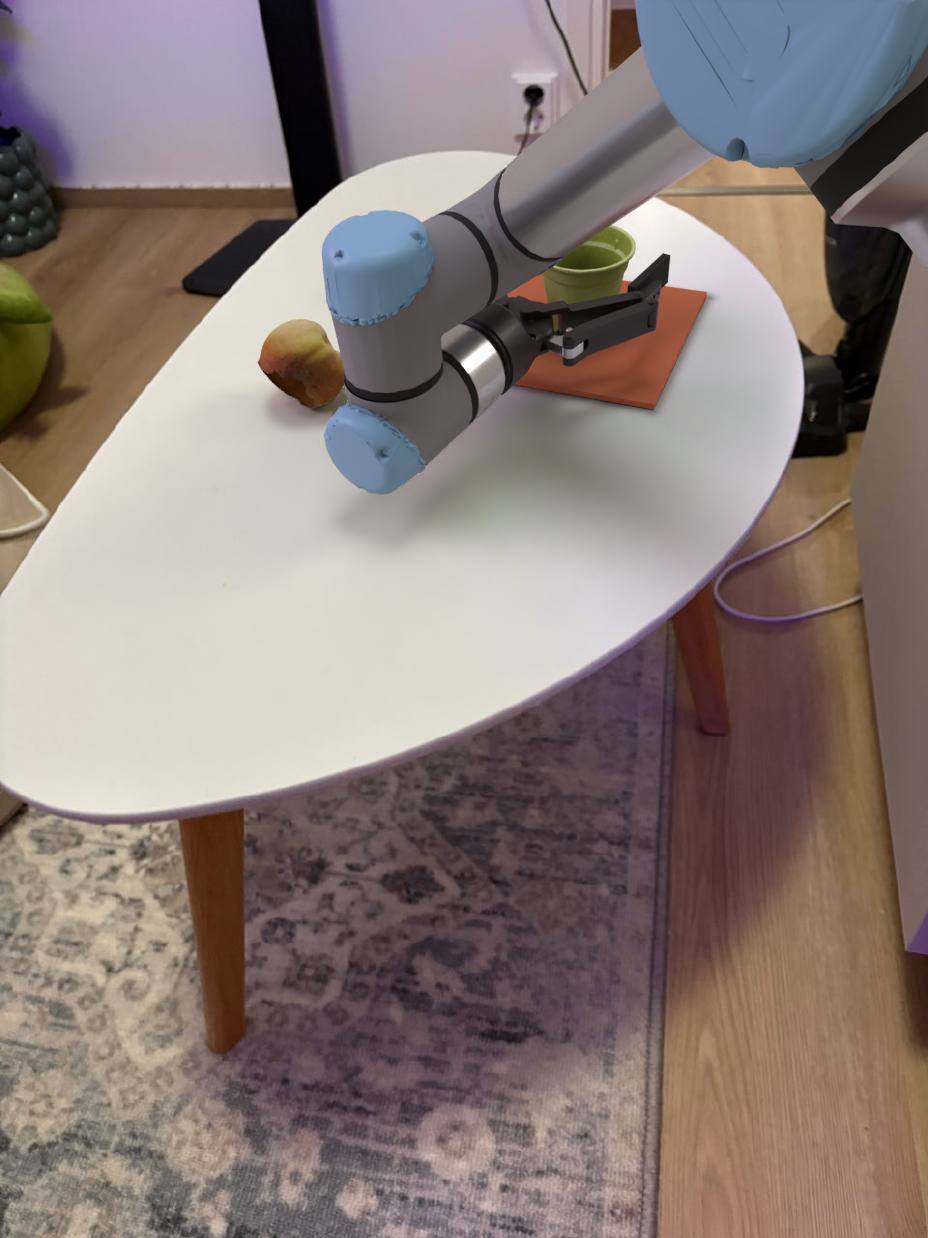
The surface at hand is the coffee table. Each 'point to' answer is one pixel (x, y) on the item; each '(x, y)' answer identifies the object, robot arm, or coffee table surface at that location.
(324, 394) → the fruit
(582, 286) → the plant pot
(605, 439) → the coffee table surface
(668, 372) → the terracotta mat
